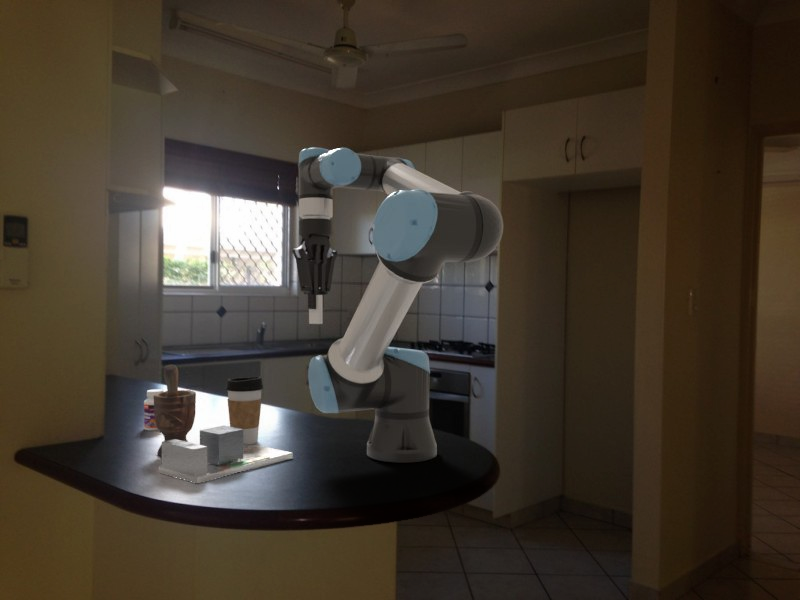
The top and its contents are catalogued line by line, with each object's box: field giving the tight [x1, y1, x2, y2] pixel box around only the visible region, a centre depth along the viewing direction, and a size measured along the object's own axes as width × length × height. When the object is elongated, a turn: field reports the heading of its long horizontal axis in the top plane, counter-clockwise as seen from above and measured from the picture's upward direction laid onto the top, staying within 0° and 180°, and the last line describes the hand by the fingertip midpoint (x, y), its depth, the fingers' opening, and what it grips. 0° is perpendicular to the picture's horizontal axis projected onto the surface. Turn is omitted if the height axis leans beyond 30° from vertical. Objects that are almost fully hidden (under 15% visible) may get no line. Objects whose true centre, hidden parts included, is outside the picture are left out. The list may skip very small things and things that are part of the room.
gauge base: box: [158, 439, 294, 484], centre depth 139 cm, size 12×24×6 cm, turn 143°
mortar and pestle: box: [154, 364, 197, 457], centre depth 147 cm, size 12×9×20 cm
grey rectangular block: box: [199, 425, 244, 465], centre depth 137 cm, size 8×6×6 cm
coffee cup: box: [225, 376, 264, 446], centre depth 160 cm, size 8×8×15 cm
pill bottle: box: [143, 388, 165, 432], centre depth 174 cm, size 5×5×10 cm
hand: (315, 323), depth 156 cm, fingers closed
